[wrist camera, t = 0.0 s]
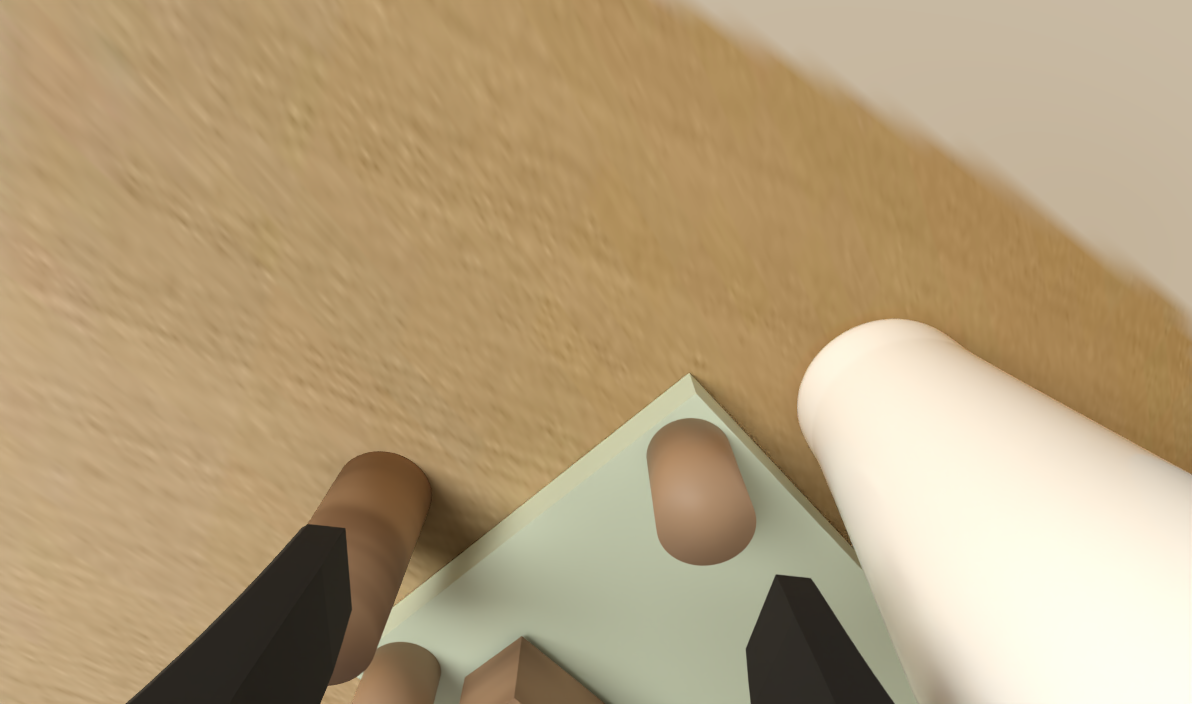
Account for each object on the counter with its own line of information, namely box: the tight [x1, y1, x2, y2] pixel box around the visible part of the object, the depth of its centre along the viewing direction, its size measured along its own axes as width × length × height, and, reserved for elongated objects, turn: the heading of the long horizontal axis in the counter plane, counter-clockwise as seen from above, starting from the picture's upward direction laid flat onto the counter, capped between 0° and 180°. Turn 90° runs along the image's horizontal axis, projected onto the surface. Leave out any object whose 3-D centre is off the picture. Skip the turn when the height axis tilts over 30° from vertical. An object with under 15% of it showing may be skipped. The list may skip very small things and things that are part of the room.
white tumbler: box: [797, 319, 1192, 704], centre depth 15 cm, size 7×7×15 cm
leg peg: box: [308, 452, 432, 686], centre depth 20 cm, size 3×3×6 cm
